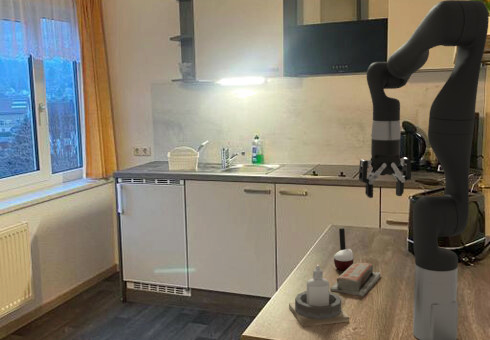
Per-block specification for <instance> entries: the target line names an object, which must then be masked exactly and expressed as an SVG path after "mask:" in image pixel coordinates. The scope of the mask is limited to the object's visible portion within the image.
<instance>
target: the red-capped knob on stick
mask: <svg viewBox="0 0 490 340" xmlns="http://www.w3.org/2000/svg"><path fill="white" fill-rule="evenodd" d="M345 231H346V230H345V228H341V227H340V228H339V230H338V232H339V235H338V236H339V248H340V250H339V251H337V252H335V254H334V256H333V262H334V263H333V264H334V267H335V268H336V269H337V270H339V271H341V272H345V271H346V270H347V269H348V268H349V267H350V266H351V265H352V264H354V260H355V259H354V253H353V251H352V249H351V248H347V247H346V237H345V236H346V235H345V233H346V232H345Z"/></svg>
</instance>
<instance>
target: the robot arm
mask: <svg viewBox="0 0 490 340" xmlns="http://www.w3.org/2000/svg"><path fill="white" fill-rule="evenodd" d="M489 17H490V16H489V10H488V8H487V6H486V4H485V3H484V2H482V1H481V0H441V1H439V2H437V4H434V6H432V7H431V9H429V11H428V13H426V14H425V16H424V18H423V19H422V20H421V22H420V23H419V25H417V27H416V29H414V31H413V33H412V34H411V35H410V37H409V38H408V40H407V41H406V42H404V43H403V44H402V45H401V46H400V47H399V48H398V49H396V50H394V51H393V53H392V54H391V55H389V57H388V59H387V61H375V62H372V63H371V64H370V65H369V66H368V68H367V71H366V82H367V85H368V89H369V94H370V99H371V103H372V123H371V124H372V125H371V134H370V137H371V146H370V148H371V150H370V151H371V152H370V154H371V157H370V160H369V159H368V160H367V159H360V160H359V170H358V181H359V182H362V183H364V184H365V187H364V188H365V195H366V196H367V198H369V199H372V198H374V182H375V180H376V179H378V178H379V176H385V175H388V176H393V177H394V178H395V180H396V181H395V195H396V196H397V197H402V196H403V194H404V190H405V189H404V188H405V182H406V181H410V180H411V179H412V166H411V164H412V162H411V158H408V157H405V156H404V157H402V158H400V154H401V121H400V119H401V103H400V100H399V99H397V98H394V97H390V96H387V94H386V92H385V90H387V89H388V90H390V89H393V90H394V89H395V90H396V89H400V88H403V87H405V86H406V85H407V83H408V81H409V79H410V78H411V76H412V75H413V74H414V73H416V72H417V71H418V70H420V69H421V68H422V67H423V66H424V65H425V64H426V63H427V61H428V59H429V55H430V50H431V49H433V48H435V47H438V46H439V47H440V46H443V47H457V51H456V52H457V53H456V58H455V62H454V66H453V69H452V72H451V73H450V75H449V77H448V79H447V80H446V82H445V83H444V85H443V86H442V87H441V89H440V90H439V92H438V93H437V95H436V96H435V98H434V99H433V102H432V103H431V106H430V109H429V116H428V117H429V118H428V127H427V139H428V143H429V145H430V147H431V150H432V151H433V153H434V155H435V157H436V158H437V160H438V162H439V164H440V166H441V168H442V170H443V173H444V178H445V180H444V183H445V189H444V195H434V196H433V195H432V196H429V195H428V196H421V197H419V198H417V200H416V201H415V202H414V207H413V211H412V231H413V233H412V234H413V253H414V282H413V283H414V287H413V288H414V290H413V320H412V321H413V322H412V325H413V326H412V334H413V336H414V337H415V338H417V339H418V340H458V338H457V336H458V318H459V317H458V316H459V303H458V302H457V291H458V288H457V287H458V286H457V285H458V268H459V259H458V258H459V257H458V255H457V253H455V252H454V251H453V250H450V249H448V248H444V247H441V246H439V244H438V238H440V237H442V238H443V237H455V236H459V235H462V234H463V233H464V232H465V230H466V229H467V226H468V222H469V214H470V213H469V212H470V192H469V191H470V165H471V152H472V145H473V144H472V143H473V139H474V138H473V137H474V129H475V118H476V106H477V105H476V104H477V94H478V86H479V79H480V71H481V67H482V61H483V56H484V52H485V47H486V42H487V37H488V31H489V20H490V18H489ZM400 165H401V168H402V172H401V171H400V169H399V168H398V167H399V166H400ZM370 166H371V167H372V168H371V169H370V171H369V172H368V169H369V167H370Z"/></svg>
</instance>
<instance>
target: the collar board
mask: <svg viewBox="0 0 490 340" xmlns="http://www.w3.org/2000/svg"><path fill="white" fill-rule="evenodd" d="M288 308H289V310H290V311H291V312H292V313H293V315H294V317H295V318H296V320H297V321H299V323H300V325H301V326H302V327H303V328H305V327H312V326H321V325H322V326H323V325H331V324H337V323H348V322H350V316H349V315H348V314H347V313H346V312H345V311H344V309H342V298H341V297H340V296H339V295H338V294H336V293H334V292H332V291H329V305H326V306H314V305H308V304H307V290H306V291H302V292H300V293H298V294H297V295H296V296H295V299H294V302H289V303H288Z"/></svg>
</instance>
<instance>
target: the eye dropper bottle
mask: <svg viewBox="0 0 490 340" xmlns="http://www.w3.org/2000/svg"><path fill="white" fill-rule="evenodd" d="M323 276H324V273H323V269H321V267H320V265H319V264H316V267H315V269H312V278H310V279H308V280H307V281H306V291H307V304H308V305H314V306H326V305H329V292H330V282H329V281H328V279H326V278H324V277H323Z"/></svg>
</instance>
